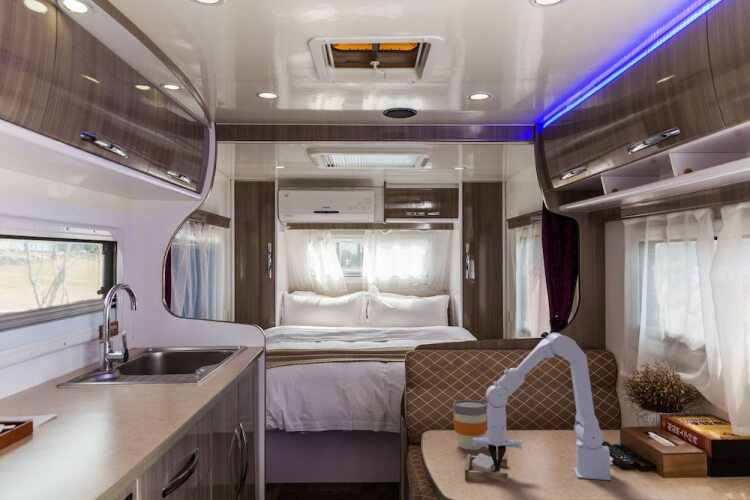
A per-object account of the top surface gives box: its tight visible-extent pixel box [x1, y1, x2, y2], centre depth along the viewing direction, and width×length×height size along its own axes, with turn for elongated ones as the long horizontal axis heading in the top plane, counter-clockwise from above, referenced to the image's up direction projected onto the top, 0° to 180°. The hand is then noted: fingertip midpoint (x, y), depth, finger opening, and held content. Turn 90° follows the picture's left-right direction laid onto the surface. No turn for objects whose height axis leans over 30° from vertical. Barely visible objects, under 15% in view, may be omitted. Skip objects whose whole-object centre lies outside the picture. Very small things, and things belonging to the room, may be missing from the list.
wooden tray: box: [464, 453, 509, 484], centre depth 171 cm, size 12×15×3 cm
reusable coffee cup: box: [452, 399, 488, 451], centre depth 199 cm, size 13×13×15 cm
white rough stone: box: [471, 453, 495, 472], centre depth 173 cm, size 10×6×6 cm, turn 146°
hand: (497, 470), depth 171 cm, fingers closed
